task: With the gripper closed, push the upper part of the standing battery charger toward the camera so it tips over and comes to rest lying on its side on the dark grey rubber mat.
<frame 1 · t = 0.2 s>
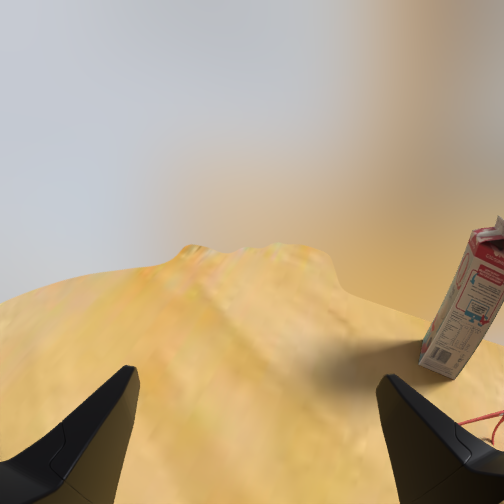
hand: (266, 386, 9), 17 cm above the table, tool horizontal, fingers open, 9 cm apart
juice carton: (437, 359, 34), on the table
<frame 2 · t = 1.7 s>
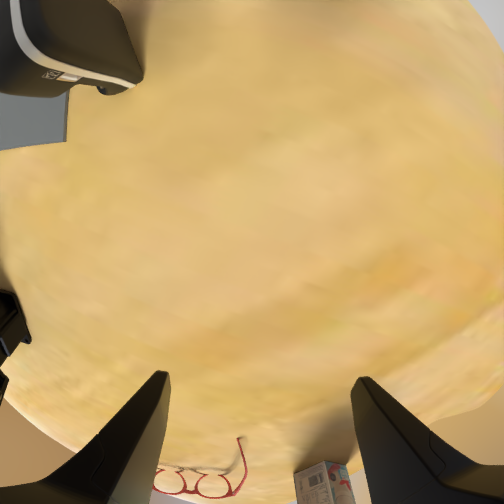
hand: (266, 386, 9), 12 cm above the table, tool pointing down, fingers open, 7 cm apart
red eyeglasses: (186, 455, 34), on the table
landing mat: (3, 83, 13), on the table
battery charger: (109, 57, 14), on the table
juice carton: (319, 469, 38), on the table
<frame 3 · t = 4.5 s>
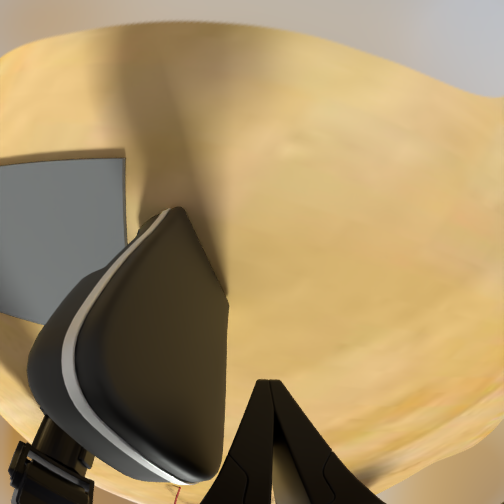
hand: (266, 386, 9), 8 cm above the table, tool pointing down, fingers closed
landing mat: (29, 251, 15), on the table
battery charger: (178, 265, 16), on the table, touching gripper
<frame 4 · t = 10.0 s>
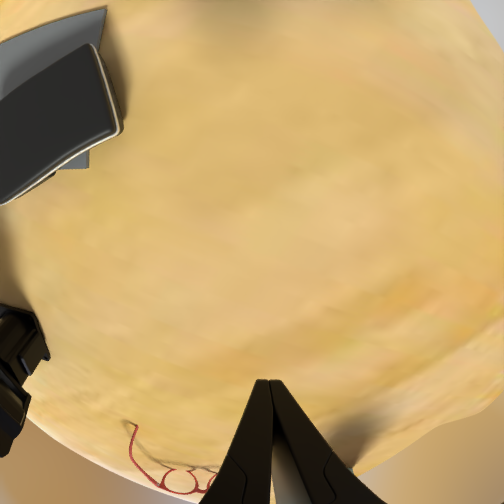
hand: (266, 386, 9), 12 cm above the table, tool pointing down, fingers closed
red eyeglasses: (199, 453, 34), on the table
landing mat: (15, 100, 14), on the table
battery charger: (114, 85, 14), point 1 cm above the table, touching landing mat
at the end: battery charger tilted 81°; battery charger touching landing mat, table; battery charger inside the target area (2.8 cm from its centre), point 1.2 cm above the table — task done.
